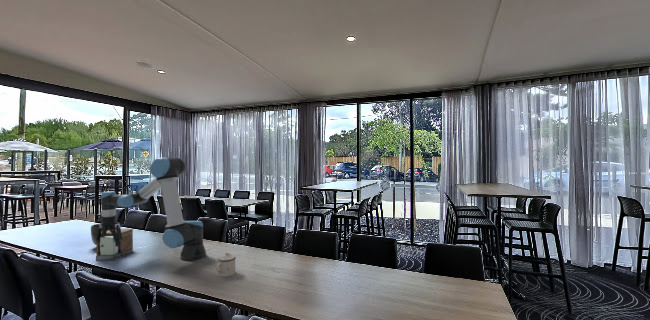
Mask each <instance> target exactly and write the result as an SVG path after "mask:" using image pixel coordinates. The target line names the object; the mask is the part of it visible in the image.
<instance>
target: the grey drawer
mask: <svg viewBox="0 0 650 320" xmlns="http://www.w3.org/2000/svg"><path fill="white" fill-rule="evenodd" d="M119 243H121V240H119ZM118 251H121V245H119V246H118ZM122 257H124V255H123V252H118V253H117V254H115V255H101V254H100V255H98V256H97V255H96V256H95V261H96V262H97V261H99V262H100V261H101V262H102V261H107V262H108V261H115V260H118V259H120V258H122Z"/></svg>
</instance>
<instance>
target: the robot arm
mask: <svg viewBox="0 0 650 320" xmlns="http://www.w3.org/2000/svg"><path fill="white" fill-rule="evenodd" d="M149 169H150V174H151V176H153V177H154V179H152V180H151V181H150V182H148V183H147V184H146V185H144V186H143V187H142V188H140V189H138V191H136V192H134V193H128V194H117V193H116V191H112V190H111V191H103V192H101V195H100V196H101V197H100V203H101V204H100V207H101V210H100V211H101V223H102V225H101V224H100V223H99V224H100V225H97V234H96V241H99V247H100V238H101V237H105V234H106V232H107V231H110V232H111V233H112V235H113V237H114V240H115V241H114V252H116V251H118V246H119V240H122V234H121V229H122V228H121V226H122V224H121V223H120V224H119V225H118V224H116V222H117V216H116V215H117V208H130V207H131V206H135V205H143V204H145V203H147V202H148V201H149V199H150V197H152V196H153V195H155V194H156V193H157V192H159V191H160V190H161V194H162V201H163V207H164V212H165V216H166V222H167V223H166V224H165V230H164V232H163V234H162V237H161V238H162V243H163V244H164V246H166V247H168V248H170V249H176V248H180V247H182V249H181V252H180V257H179V259H180V260H182V261H195V260H201V259H203V258H205V257H206V256H207V250H206V248H205V247H206V246H205V245H204V224H203V223H204V222H203V221H201V220H185V219H184V217H183V212H182V205H181V199H180V194H179V189H178V183H177V180H178V179H179V178H180V177H181V176H182V175H184V174H185V172H186V170H187V164H186V162H185V160H183V159H182V158H179V157H169V156H168V157H165V156H164V157H158V158H155V159H154V160H153V161H152V162H151V164H150V168H149ZM115 226H116V227H115ZM102 227H103V230H102ZM115 228H116V229H115ZM101 232H102V233H101ZM116 232H117V233H116ZM100 252H101V247H100Z"/></svg>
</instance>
